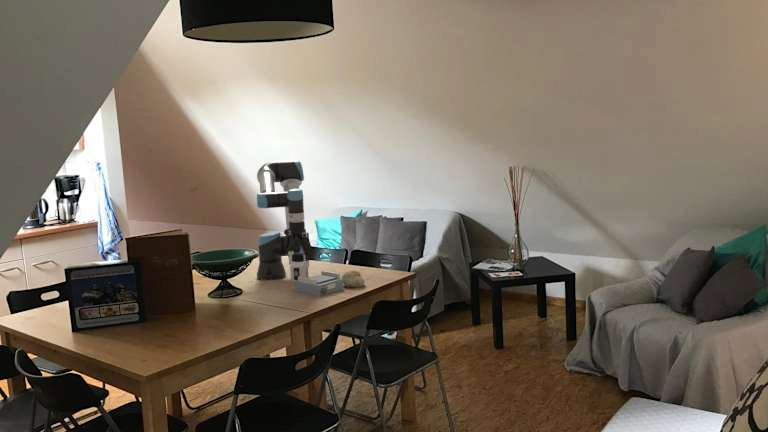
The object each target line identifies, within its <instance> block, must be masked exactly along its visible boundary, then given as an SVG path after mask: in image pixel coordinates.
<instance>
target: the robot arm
mask: <svg viewBox="0 0 768 432" xmlns="http://www.w3.org/2000/svg"><path fill="white" fill-rule="evenodd" d="M256 178H257V182H258V183H259V193H256V203H257V206H256V207H257V208H258V209H274V208H284V210H285V211H284V213H285V223H286V224H285V225H286V228H285V229H284V230H283V233H282V234H281V232H280V231H272V232H271V231H270V232H266V233H262V234H260V235H259V236H258V238H257V246H258V261H259V264H258V267H257V272H256V278H257V279H258V280H261V281H269V280H271V281H272V280H278V279H283V278H285V277H286V276H287V273H286V272H287V271H286V269H285V266H284V264H283V260H282V257H288V265H289V266H291V264H292V255H293V254H294V253H304V254H303V256H304V268H306V267H308V268H309V267H310V260H311V259H310V254H312V253H313V249H312V245H311V241H310V232H307V231H306V230H307V229H306V225H305V209H304V194H303V193H304V191H303V190H302V189H301V188H300V186H301V185H302V182H303V181H305V176H304V169H303V166H302V162H301V161H300V160H297V159H296V160H295V159H291V160H288V159H287V160H272V161H269V162H266V163H264V164H263V165H261V167H260V168H259V170H258V171H257V175H256ZM275 183H279V185H280V186H281V187H282V188H283V189H282V190H283V191H280V192H279V191H277V192H276V187H275Z"/></svg>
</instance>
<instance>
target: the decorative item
mask: <svg viewBox="0 0 768 432" xmlns="http://www.w3.org/2000/svg"><path fill="white" fill-rule="evenodd" d="M361 274H362V273H361V272H360V271H356V270H350V271H346V273H344V274H343V275H341V279H343V286H345V288H351V289H352V288H361V287H362V286H363V287H364V286H365V283H366V282H365V278H364V277H361V276H362V275H361Z"/></svg>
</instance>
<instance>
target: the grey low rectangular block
mask: <svg viewBox="0 0 768 432" xmlns="http://www.w3.org/2000/svg"><path fill="white" fill-rule="evenodd" d="M320 271H321V272H320V274H317V275H313V276H309V277H308V278H306V277H300V276H299V277H298V281H294V283H295V292H298V293H302V294H307V295H312V296H317V297H320V296H323V295H326V294H331V293H334V291H335V292H337V291H341V290H344V284H343V279H342V277H341V275H340V272H339V273H338V272H334V271H333V272H332V271H329V270H320Z"/></svg>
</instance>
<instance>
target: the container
mask: <svg viewBox="0 0 768 432" xmlns="http://www.w3.org/2000/svg"><path fill="white" fill-rule="evenodd" d="M303 254H304V253H294V254H293V255H292V264H291V265H289V266H290V267H289V270H290V281H291V282H295V281H298V277H299V276H300V277H306V278H308V277H310V276H309V267H306V268H304V256H303Z"/></svg>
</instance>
